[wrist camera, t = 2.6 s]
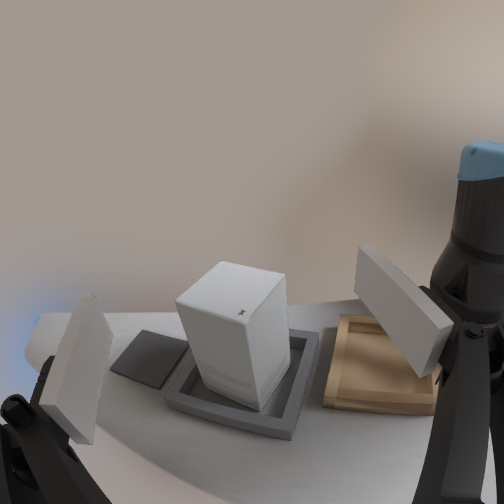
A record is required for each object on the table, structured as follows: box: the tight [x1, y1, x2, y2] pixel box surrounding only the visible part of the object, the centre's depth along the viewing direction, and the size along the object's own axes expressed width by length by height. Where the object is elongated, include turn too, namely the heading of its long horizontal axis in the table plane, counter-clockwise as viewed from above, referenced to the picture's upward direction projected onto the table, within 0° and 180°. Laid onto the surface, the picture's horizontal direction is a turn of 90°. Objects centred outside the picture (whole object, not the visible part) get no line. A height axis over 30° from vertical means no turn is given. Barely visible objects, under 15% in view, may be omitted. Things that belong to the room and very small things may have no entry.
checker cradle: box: [164, 329, 319, 441], centre depth 32 cm, size 13×14×2 cm
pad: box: [110, 330, 190, 390], centre depth 36 cm, size 8×8×1 cm
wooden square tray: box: [322, 314, 441, 415], centre depth 30 cm, size 12×12×2 cm
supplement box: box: [175, 261, 291, 411], centre depth 29 cm, size 7×7×13 cm
